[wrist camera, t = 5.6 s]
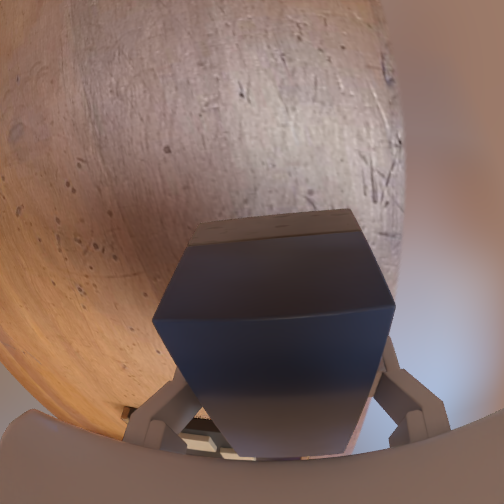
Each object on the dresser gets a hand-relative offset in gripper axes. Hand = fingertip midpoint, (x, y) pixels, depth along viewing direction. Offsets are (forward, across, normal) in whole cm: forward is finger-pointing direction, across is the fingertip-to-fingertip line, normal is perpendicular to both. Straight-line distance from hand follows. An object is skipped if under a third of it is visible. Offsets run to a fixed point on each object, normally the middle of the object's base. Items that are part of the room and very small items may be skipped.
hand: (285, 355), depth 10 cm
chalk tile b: (+4, +7, +27) cm, 28 cm away
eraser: (+2, 0, 0) cm, 2 cm away
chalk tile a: (+4, +12, +23) cm, 26 cm away
